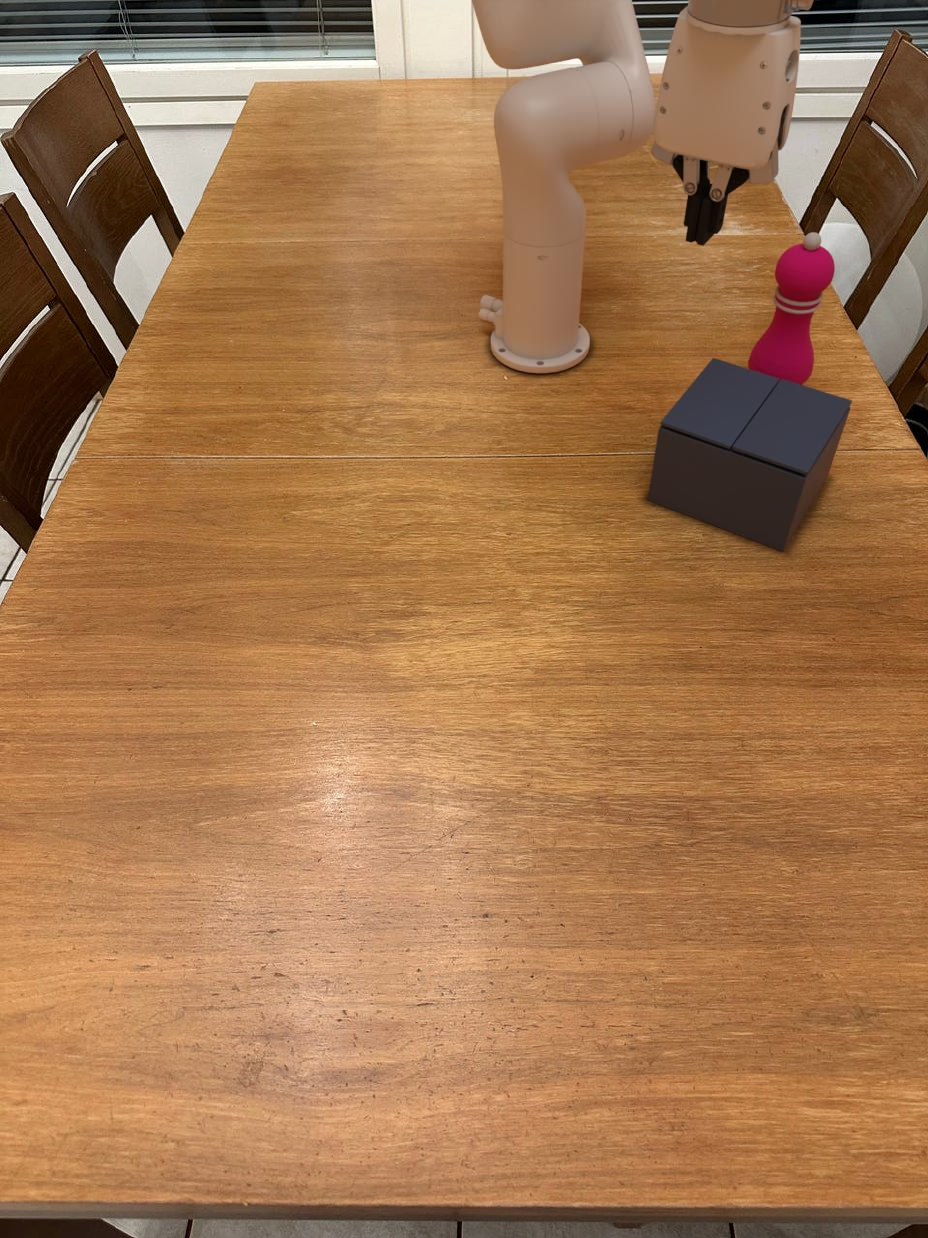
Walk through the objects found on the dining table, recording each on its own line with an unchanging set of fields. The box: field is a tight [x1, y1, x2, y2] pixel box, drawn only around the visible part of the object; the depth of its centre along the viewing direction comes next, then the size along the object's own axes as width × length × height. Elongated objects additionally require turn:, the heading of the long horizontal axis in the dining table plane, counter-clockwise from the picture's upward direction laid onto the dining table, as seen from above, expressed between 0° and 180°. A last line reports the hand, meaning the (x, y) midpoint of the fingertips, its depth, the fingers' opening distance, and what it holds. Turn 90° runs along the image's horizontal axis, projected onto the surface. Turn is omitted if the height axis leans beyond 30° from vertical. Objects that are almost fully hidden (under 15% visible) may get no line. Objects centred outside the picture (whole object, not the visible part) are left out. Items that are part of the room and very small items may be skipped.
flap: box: [659, 357, 780, 449], centre depth 95 cm, size 7×13×1 cm, turn 148°
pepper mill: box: [747, 231, 836, 385], centre depth 105 cm, size 7×7×20 cm
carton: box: [647, 379, 853, 552], centre depth 98 cm, size 15×13×10 cm
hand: (701, 236), depth 83 cm, fingers closed
